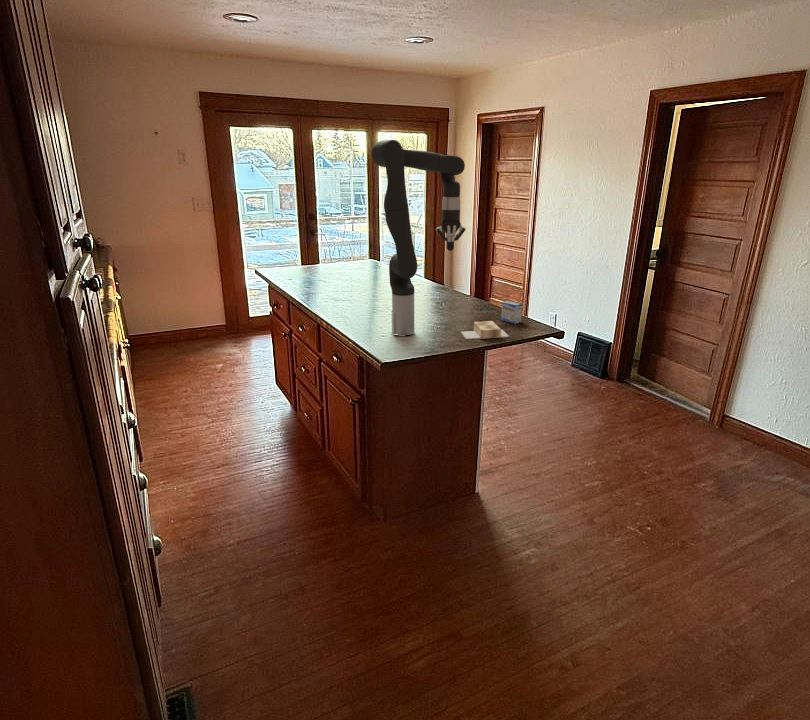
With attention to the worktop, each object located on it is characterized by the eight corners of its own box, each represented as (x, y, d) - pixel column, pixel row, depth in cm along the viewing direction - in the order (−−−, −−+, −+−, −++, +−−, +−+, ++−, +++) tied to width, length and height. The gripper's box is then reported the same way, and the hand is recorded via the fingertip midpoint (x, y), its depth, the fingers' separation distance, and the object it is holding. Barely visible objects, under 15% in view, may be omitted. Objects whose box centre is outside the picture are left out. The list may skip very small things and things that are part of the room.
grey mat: (466, 339, 210) (466, 338, 210) (460, 332, 218) (460, 331, 218) (508, 337, 212) (509, 336, 212) (502, 330, 221) (502, 329, 220)
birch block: (473, 329, 221) (481, 338, 209) (473, 321, 219) (481, 330, 208) (491, 328, 222) (500, 337, 211) (492, 320, 220) (501, 329, 209)
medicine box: (500, 320, 234) (501, 302, 231) (506, 318, 237) (507, 300, 234) (515, 324, 229) (516, 305, 226) (521, 322, 232) (522, 303, 228)
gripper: (437, 209, 210) (436, 252, 216) (468, 208, 211) (467, 251, 218) (433, 207, 217) (433, 249, 223) (464, 207, 218) (463, 248, 225)
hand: (450, 250), depth 220 cm, fingers closed
